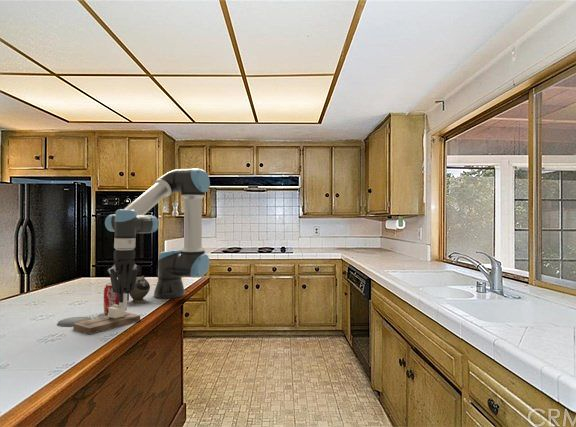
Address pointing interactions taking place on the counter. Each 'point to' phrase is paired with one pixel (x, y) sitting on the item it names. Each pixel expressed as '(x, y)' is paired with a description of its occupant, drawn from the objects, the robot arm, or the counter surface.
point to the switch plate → (105, 323)
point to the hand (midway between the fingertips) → (123, 310)
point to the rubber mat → (72, 321)
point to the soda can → (109, 297)
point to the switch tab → (116, 311)
